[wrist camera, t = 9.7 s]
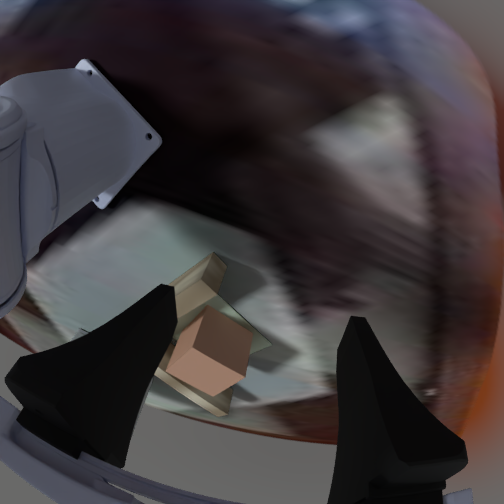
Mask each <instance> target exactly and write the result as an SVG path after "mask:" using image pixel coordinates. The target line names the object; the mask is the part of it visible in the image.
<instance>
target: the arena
mask: <svg viewBox="0 0 504 504" xmlns="http://www.w3.org/2000/svg"><path fill="white" fill-rule="evenodd" d="M226 268H227V266H226V265H225V264H224V263H223V262H222V261H221V260H220V258H219V257H218V256H217V255H216V254H215V253H214V252H213V253H211V254H210V255H208V256H207V257H206V258H204V259H203V260H202V261H200V262H199V263H197V264H196V265H195V266H193V267H192V268H191V269H189V270H188V271H186V272H185V273H184V274H182V275H181V276H180V277H178V278H177V279H176V280H174V281H173V282H171V283H170V284H169V286H174V288H175V299H176V309H177V318H178V323H177V326H176V329H175V332H174V335H173V338H174V339H175V340H176V341H178V339H179V337H180V334H181V332H182V331H183V330H184V329H185V327H186V326H187V325H188V324H189V323H190V322H191V321H192V320H193V319H194V318H195V317H196V316H197V315H198V314H199V313H200V312H201V311H202V310H203V309H204V308H205V307H206V306H207V305H209V306H211V307H212V308H214V309H215V310H217V311H218V312H220V313H222V314H223V315H225V316H226V317H228V318H229V319H231V320H233V321H234V322H236V323H237V324H239V325H241V326H242V327H244V328H245V329H247V330H249V331H250V332H252V333H253V338H252V343H251V349H250V354H253V353H255V352H257V351H260V350H262V349H264V348H266V347H269V346H271V345H272V344H271V343H270V342H269V341H268V340H267V339H266V338H265V337H264V336H262V335H261V334H260V333H259V332H258V331H257V330H256V329H255V328H254V327H253V326H251V325H250V324H249V323H248V322H247V321H246V320H245V319H244V318H243V317H242V316H241V315H239V314H238V313H237V312H236V311H235V310H234V309H233V308H232V307H231V306H230V305H229V304H228V303H227V302H226V301H225V300H223V299H222V298H221V297H220V296H219V295H218V291H219V288H220V286H221V283H222V280H223V277H224V274H225V271H226ZM174 349H175V346H174V345H173V344H172V343H170V345H169V347H168V349H167V351H166V352H165V354H164V356H163V358H162V360H161V362H160V364H159V366H158V368H157V370H156V372H155V374H154V375H156V376H157V377H158V378H160V379H161V380H163V381H164V382H165V383H167V384H168V385H170V386H171V387H172V388H174V389H175V390H177V391H178V392H180V393H181V394H183V395H184V396H186V397H187V398H189V399H190V400H192V401H193V402H195V403H196V404H198V405H199V406H201V407H203V408H204V409H206V410H207V411H209V412H211V413H212V414H214V415H215V416H217V417H220V416H224V415H228V411H229V407H230V402H231V397H232V393H233V389H231V388H230V387H229V388H227V389H225V390H224V391H222V392H220V393H219V394H217V395H215V396H211V395H209V394H207V393H205V392H203V391H201V390H199V389H197V388H195V387H193V386H191V385H189V384H188V383H186V382H184V381H182V380H180V379H178V378H177V377H175V376H173V375H171V374H170V373H168V372H166V369H167V366H168V364H169V361H170V359H171V356H172V354H173V351H174ZM250 354H249V355H250Z"/></svg>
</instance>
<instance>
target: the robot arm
mask: <svg viewBox="0 0 504 504" xmlns="http://www.w3.org/2000/svg"><path fill="white" fill-rule="evenodd" d="M91 70H92V75H90V72H91ZM148 133H150V134H151V135H152V139H149V138H148ZM161 144H162V138H161V137H160V135H159V134H158V133H157V132H156V131H155V130H154V129H153V128H152V127H151V126H150V125H149V123H148V122H147V121H146V120H145V119H144V118H143V117H142V116H141V115H140V114H139V113H138V112H137V111H136V110H135V108H134V107H133V106H132V105H131V104H130V103H129V102H128V101H127V100H126V99H125V98H124V97H123V96H122V95H121V94H120V92H119V91H118V90H117V89H116V88H115V87H114V86H113V85H112V84H111V83H110V82H109V81H108V80H107V79H106V78H105V77H104V75H103V74H102V73H101V72H100V71H99V70H98V69H97V68H96V67H95V66H94V65H93V64H92V63H91V62H90V61H89V60H88V59H83V60H81V61H80V62H79V63H78V65H77V66H76V67H75V68H72V69H61V70H51V71H43V72H35V73H28V74H23V75H19V76H17V77H14V78H12V79H10V80H9V81H7V82H5V83H4V84H2V85H1V86H0V318H2V317H3V316H5V315H6V314H8V313H9V312H10V311H11V310H12V309H13V308H14V307H15V306H16V304H17V303H18V302H19V300H20V299H21V297H22V295H23V293H24V290H25V287H26V282H27V269H26V264H25V263H27V262H28V261H29V260H30V259H31V258H32V257H33V256H35V255H36V254H37V253H38V252H39V244H40V242H41V240H42V239H43V238H44V237H45V236H47V235H48V234H49V233H51V232H52V231H53V230H54V229H55V228H57V227H58V226H59V225H60V224H62V223H63V222H64V221H65V220H67V219H68V218H69V217H70V216H72V215H73V214H74V213H76V212H77V211H78V210H80V209H81V208H82V207H84V206H85V205H86V204H88V203H89V202H90V201H93V202H94V203H95V204H96V205H97V206H98V207H99V208H101V209H104V208H105V207H106V206H107V205H108V204H109V203H110V202H111V201H112V199H113V198H114V197H115V196H116V195H117V193H118V192H119V191H120V190H121V189H122V187H123V186H124V185H125V184H126V183H127V182H128V180H129V179H130V178H131V177H132V176H133V175H134V174H135V173H136V171H137V170H138V169H139V168H140V167H141V166H142V165H143V164H144V163H145V162H146V160H147V159H148V158H149V157H150V156H151V155H152V154H153V153H154V152H155V151H156V150H157V149H158V148H159V147H160V145H161ZM97 196H98V197H99V200H98V199H97ZM177 323H178V318H177V309H176V299H175V288H174V286H169V285H164V284H160V285H159V286H157V287H156V288H155V289H153V290H152V291H151V292H149V293H148V294H147V295H145V296H144V297H143V298H141V299H140V300H139V301H137V302H136V303H135V304H133V305H132V306H130V307H129V308H128V309H126V310H125V311H124V312H122V313H121V314H119V315H118V316H116V317H115V318H113V319H112V320H110V321H109V322H107V323H105V324H104V325H102V326H100V327H99V328H97V329H95V330H93V331H91V332H89V333H88V334H86V335H84V336H81V337H79V338H77V339H75V340H73V341H70V342H68V343H66V344H63V345H61V346H58V347H55V348H52V349H49V350H46V351H43V352H39V353H35V354H31V355H27V356H23V357H20V358H19V359H18V360H17V362H16V363H15V364H14V366H13V367H12V369H11V370H10V372H9V373H8V374H7V375H6V377H5V383H6V385H7V387H8V388H9V389H10V391H11V392H12V393H13V395H14V396H15V397H16V398H17V400H18V401H19V402H20V403H21V404H22V405H23V409H22V411H20V410H18V409H17V408H16V407H15V406H13V405H12V404H11V403H9V402H8V401H7V400H5V399H4V398H2V397H1V396H0V460H1V461H2V462H3V463H4V464H5V465H6V466H8V467H9V468H10V469H11V470H12V471H14V472H15V473H16V474H17V475H19V476H20V477H21V478H23V479H24V480H25V481H26V482H28V483H29V484H30V485H32V486H33V487H35V488H36V489H37V490H39V491H40V492H42V493H43V494H45V495H46V496H47V497H49V498H50V499H52V500H53V501H55V502H56V503H58V504H144V503H142V502H140V501H139V500H137V499H136V498H134V496H133V495H131V494H129V493H127V492H125V491H123V490H121V489H118V488H116V487H114V486H112V485H110V484H109V483H112V484H114V485H116V486H119V487H121V488H123V489H126V490H129V491H131V492H133V493H136V494H139V495H142V496H144V497H147V498H150V499H153V500H155V501H158V502H162V503H165V504H243V503H238V502H231V501H227V500H222V499H217V498H212V497H208V496H204V495H199V494H196V493H192V492H188V491H184V490H181V489H177V488H174V487H171V486H167V485H164V484H161V483H158V482H155V481H152V480H149V479H146V478H143V477H141V476H138V475H135V474H133V473H130V472H128V471H125V470H123V469H121V468H123V467H124V466H125V461H126V456H127V452H128V448H129V443H130V440H131V436H132V433H133V429H134V425H135V422H136V419H137V416H138V413H139V410H140V407H141V404H142V401H143V399H144V396H145V393H146V390H147V388H148V386H149V384H150V382H151V380H152V378H153V376H154V374H155V372H156V370H157V368H158V366H159V364H160V362H161V360H162V358H163V356H164V354H165V352H166V351H167V349H168V347H169V345H170V343H171V340H172V337H173V335H174V332H175V329H176V326H177ZM336 375H337V391H338V408H339V431H338V442H337V452H336V460H335V467H334V473H333V479H332V484H331V489H330V494H329V498H328V503H327V504H473V495H472V489H471V488H468V489H465V490H461V491H457V492H453V493H449V494H446V495H444V496H442V490H443V489H445V488H446V481H445V480H446V479H448V478H450V477H451V476H453V475H455V474H456V473H458V472H459V471H461V470H462V469H463V468H464V467H465V466H466V465H467V464H468V457H467V451H466V446H465V442H464V440H462V439H461V438H460V437H458V436H457V435H456V434H454V433H453V432H452V431H451V430H449V429H448V428H447V427H446V426H444V425H443V424H442V423H441V422H440V421H439V420H438V419H437V418H436V417H435V416H434V415H433V414H431V413H430V412H429V411H428V409H427V408H426V407H425V406H424V405H423V404H422V403H421V402H420V401H419V400H418V399H417V397H416V396H415V395H414V394H413V393H412V391H411V390H410V389H409V387H408V386H407V385H406V384H405V382H404V381H403V380H402V378H401V377H400V375H399V374H398V372H397V371H396V369H395V368H394V366H393V365H392V363H391V362H390V360H389V358H388V357H387V355H386V353H385V352H384V350H383V348H382V347H381V345H380V343H379V341H378V340H377V338H376V336H375V334H374V332H373V331H372V329H371V327H370V325H369V323H368V322H367V320H366V318H365V317H357V316H351V317H350V319H349V322H348V325H347V327H346V330H345V332H344V335H343V337H342V340H341V342H340V344H339V347H338V349H337V367H336ZM108 482H109V483H108Z"/></svg>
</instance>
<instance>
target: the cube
mask: <svg viewBox="0 0 504 504" xmlns="http://www.w3.org/2000/svg"><path fill="white" fill-rule="evenodd" d="M252 338H253V333H252V332H250V331H249V330H247V329H245V328H244V327H242V326H241V325H239V324H237V323H236V322H234V321H233V320H231V319H229V318H228V317H226V316H225V315H223V314H222V313H220V312H218V311H217V310H215V309H214V308H212V307H211V306H209V305H207V306H206V307H205V308H204V309H203V310H202V311H201V312H200V313H199V314H198V315H197V316H196V317H195V318H194V319H193V320H192V321H191V322H190V323H189V324H188V325H187V326H186V327H185V329H184V330H183V331H182V332H181V334H180V337H179V339H178V342H177V344H176V346H175V349H174V351H173V354H172V356H171V359H170V361H169V364H168V366H167V369H166V372H168V373H170V374H171V375H173V376H175V377H177V378H178V379H180V380H182V381H184V382H186V383H188V384H189V385H191V386H193V387H195V388H197V389H199V390H201V391H203V392H205V393H207V394H209V395H211V396H215V395H217V394H219V393H220V392H222V391H224V390H225V389H227V388H229V387H230V386H232V385H233V384H235V383H237V382H238V381H240V380H242V379H243V378H245V376H246V371H247V365H248V360H249V354H250V349H251V343H252Z"/></svg>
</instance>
